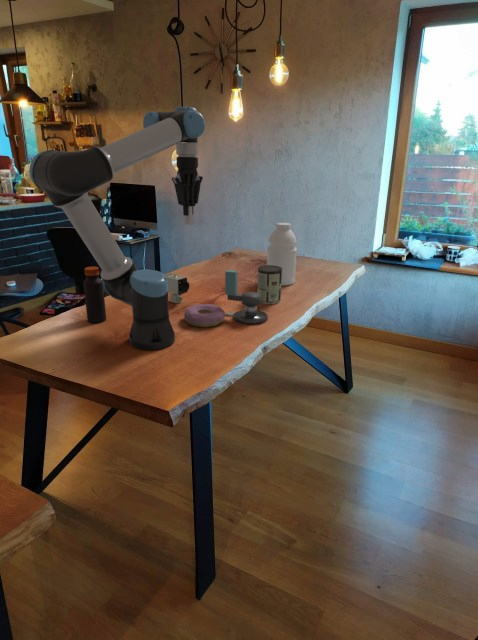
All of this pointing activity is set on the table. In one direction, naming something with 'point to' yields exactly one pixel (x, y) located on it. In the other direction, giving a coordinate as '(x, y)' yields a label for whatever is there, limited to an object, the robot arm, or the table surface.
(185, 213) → the robot arm
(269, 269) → the coffee can
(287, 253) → the bottle
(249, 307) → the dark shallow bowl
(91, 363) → the table surface
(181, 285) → the security camera
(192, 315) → the donut
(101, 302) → the bottle
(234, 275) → the teal grey l-shaped block
